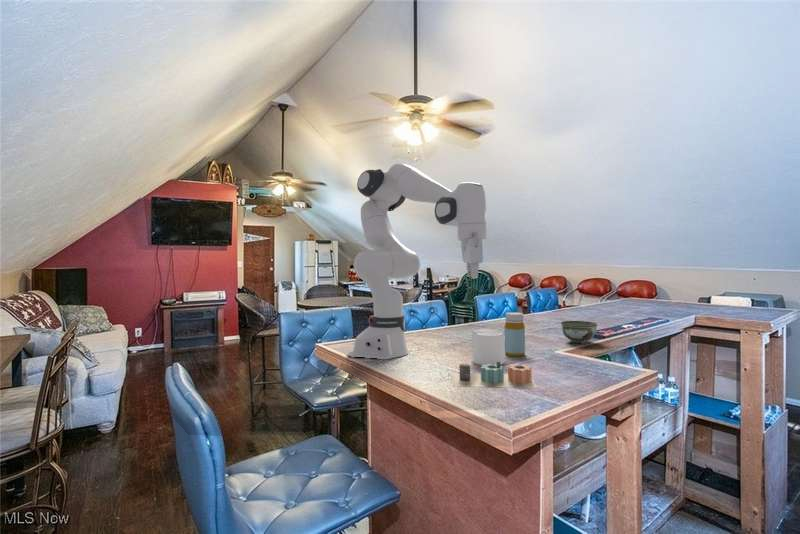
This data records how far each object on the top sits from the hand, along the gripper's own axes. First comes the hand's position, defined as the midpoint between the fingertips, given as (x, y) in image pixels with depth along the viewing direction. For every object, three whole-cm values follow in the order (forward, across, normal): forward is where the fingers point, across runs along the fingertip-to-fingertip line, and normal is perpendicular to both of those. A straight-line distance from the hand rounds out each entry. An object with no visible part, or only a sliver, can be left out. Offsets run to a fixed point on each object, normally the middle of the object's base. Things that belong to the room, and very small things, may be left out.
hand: (472, 277), depth 122 cm
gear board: (+29, -14, -3) cm, 33 cm away
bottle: (+29, +19, -17) cm, 39 cm away
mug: (+29, +7, -5) cm, 31 cm away
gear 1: (+28, -14, -3) cm, 31 cm away
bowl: (+29, +38, -48) cm, 68 cm away
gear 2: (+28, -15, -11) cm, 33 cm away
